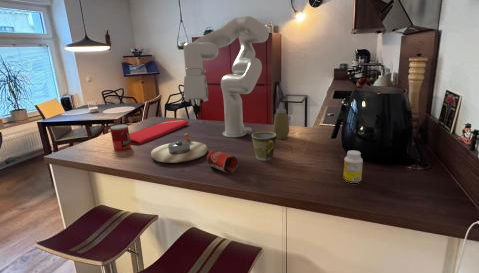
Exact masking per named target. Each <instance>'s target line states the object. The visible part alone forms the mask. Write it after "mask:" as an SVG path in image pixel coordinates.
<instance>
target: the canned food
mask: <svg viewBox="0 0 479 273" xmlns="http://www.w3.org/2000/svg"><path fill="white" fill-rule="evenodd" d="M128 126H129V125H128V124H115V125H112V126H110V136H111V140H112V145H113V146H112V147H113V149H114V150H115V151H116V152H123V151H126V150H127V151H128V150H129V149H131V146H132V144H131V143H130V136H129V134H130V131H129V127H128Z"/></svg>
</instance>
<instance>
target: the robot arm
mask: <svg viewBox="0 0 479 273" xmlns="http://www.w3.org/2000/svg"><path fill="white" fill-rule="evenodd" d="M269 35H270V32H269V28H268V27H267V25H265V24H264V23H262V22H261V21H260V20H259V19H256V18H255V17H252V16H250V15H249V16H239V17H234V18H232V19H231V20H229V21H228V22H226V23H225V24H224V25H222V26H221V27H219V28H218V29H216V30H214V31H210V32H209V33H207V34H205V35H202V36H200V37H199V38H197V39H195V41H193V42H185V43H184V44H183V57H184V69H185V70H184V71H185V76H184V77H183V96H184V101H185V102H189V103H190V104H191V105H192V108H193V113H194V115H195V116H196V115H200V114H201V113H202V107H201V105H202V104H203V103H204V102H208V101H209V89H208V82H207V78H206V75H204V74H205V73H207V70H206V69H204V68H203V61H212V60H214V59H215V58H216V59H217V57H218V56H219V49H220V48H224V47H227V46H228V45H230V44H232V43H233V42H234V41H236V39H238V41H239V46H240V50H239V53H238V54H237V56H236V58H235V60H234V62H233V64H232V66H231V71H232V73H228V74H225V75H224V76H223V77H221V80H220V88H221V91H222V97H223V108H224V110H223V111H224V127H225V128H224V131H223V132H222V136H224V137H226V138H240V137H243V136H246V135H247V133H248V132H249V133H250V132H252V127H250V126H249V127H248V126H247V127H246V126H245V124H244V122H243V120H244V118H243V112H244V111H243V99H242V97H241V94H242V95H248V94H250V93H252V91H253V90H254V89H255V86H256V84H257V82H258V81H259V78H260V76H261V74H262V71H263V70H262V69H263V66H262V61H261V60H260V59H259V58H257V57H256V51H255V49H254V47H253V44H259V43H260V44H261V43H265V42H266V41H267V40H268V38H269Z"/></svg>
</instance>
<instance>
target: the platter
mask: <svg viewBox="0 0 479 273" xmlns="http://www.w3.org/2000/svg"><path fill="white" fill-rule="evenodd" d="M183 136H184V141H187V142H189V143H190V151H189V152H187V153H184V154H170V153H169V148H168V145H169V144H170V143H171V142H170V143H165V144H162V145H161V144H160V145H159V146H157V147H155V148H153V149H152V150H151V152H150V157H151V158H152V159H153V160H154V161H156V162H161V163H170V164H171V163H182V162H188V161H189V162H190V161H192V160H196V159H199V158H201V157H203V156H205V155H206V154H207V153H208V146H207V145H206V144H205V143H202V142H200V141H199V142H198V141H191V137H190V133H184V135H183Z"/></svg>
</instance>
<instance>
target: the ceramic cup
mask: <svg viewBox="0 0 479 273" xmlns="http://www.w3.org/2000/svg"><path fill="white" fill-rule="evenodd" d="M251 141H252V144H253V149H254V154H255V158H256V159H257V160H258V161H263V162H264V161H265V162H266V161H267V162H268V161H271V160H272V159H273V157H274V153H275V145H276V141H277V138H276V134H275V133H274V132H273V131H258V132H257V131H256V132H253V133H252V134H251Z"/></svg>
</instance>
